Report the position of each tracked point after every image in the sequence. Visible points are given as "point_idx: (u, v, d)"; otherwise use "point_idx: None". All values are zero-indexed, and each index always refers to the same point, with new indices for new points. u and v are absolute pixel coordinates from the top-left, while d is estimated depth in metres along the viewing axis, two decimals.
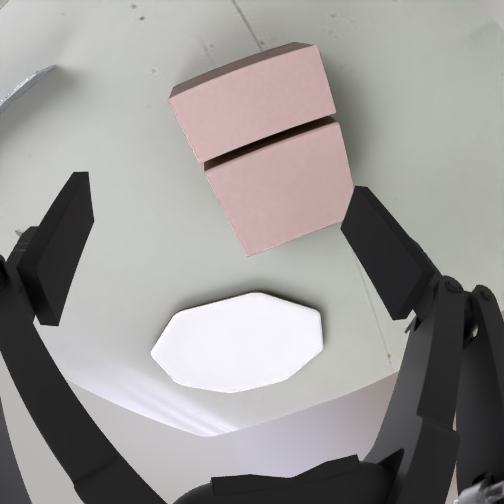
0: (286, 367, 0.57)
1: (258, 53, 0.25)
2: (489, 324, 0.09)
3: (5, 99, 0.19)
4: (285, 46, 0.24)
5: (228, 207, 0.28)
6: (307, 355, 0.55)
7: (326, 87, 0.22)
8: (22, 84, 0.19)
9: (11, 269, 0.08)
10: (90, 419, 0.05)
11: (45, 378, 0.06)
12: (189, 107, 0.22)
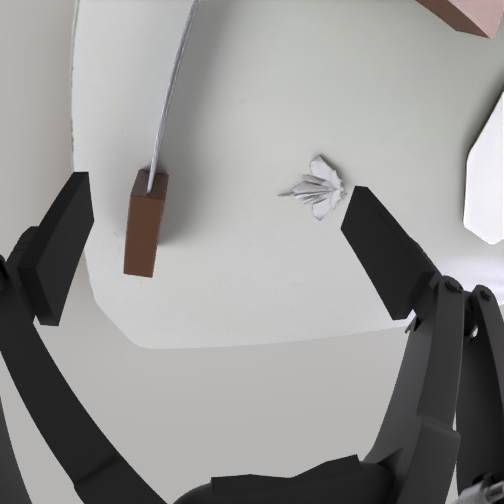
0: None
1: None
2: (489, 324, 0.09)
3: (181, 46, 0.19)
4: None
5: None
6: None
7: None
8: (190, 17, 0.17)
9: (11, 269, 0.08)
10: (90, 419, 0.05)
11: (45, 378, 0.06)
12: None
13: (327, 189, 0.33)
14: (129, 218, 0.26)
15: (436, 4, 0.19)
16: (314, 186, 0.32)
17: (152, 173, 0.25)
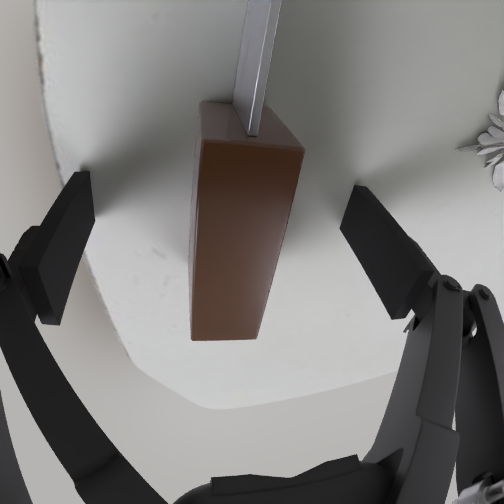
0: None
1: None
2: (488, 323, 0.09)
3: None
4: None
5: None
6: None
7: None
8: None
9: (13, 268, 0.08)
10: (91, 418, 0.05)
11: (47, 377, 0.06)
12: None
13: None
14: (201, 212, 0.10)
15: None
16: None
17: (265, 73, 0.08)
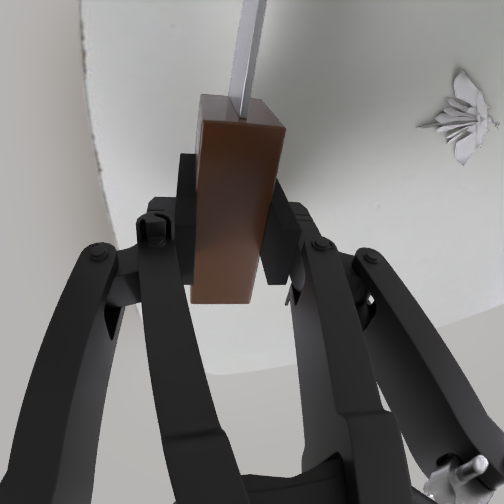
0: None
1: None
2: (388, 294, 0.10)
3: None
4: None
5: None
6: None
7: None
8: None
9: None
10: (207, 389, 0.06)
11: (179, 339, 0.07)
12: None
13: (474, 118, 0.18)
14: (200, 181, 0.12)
15: None
16: (460, 113, 0.18)
17: (252, 67, 0.10)
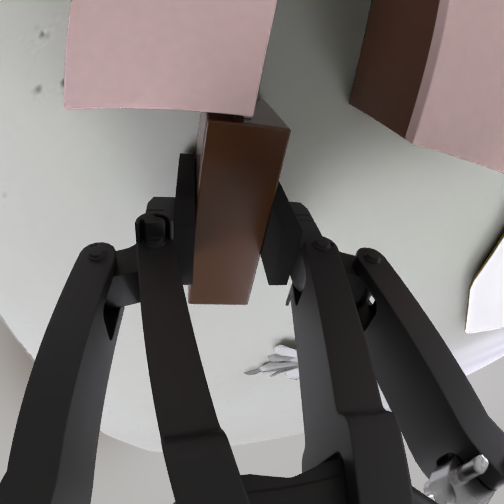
0: None
1: None
2: (389, 294, 0.10)
3: None
4: None
5: (474, 151, 0.11)
6: None
7: None
8: None
9: None
10: (207, 389, 0.06)
11: (178, 339, 0.07)
12: (102, 70, 0.07)
13: (297, 364, 0.29)
14: (203, 180, 0.11)
15: None
16: (281, 364, 0.29)
17: None
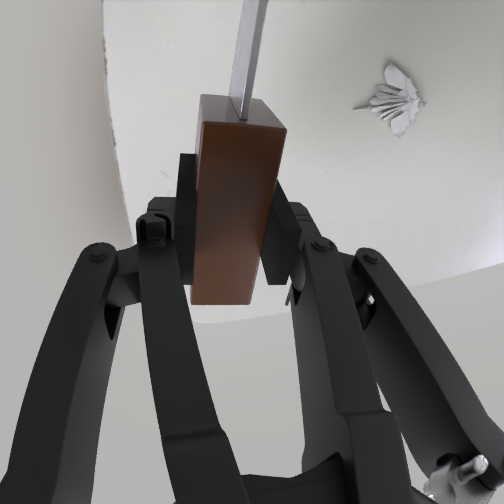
0: None
1: None
2: (388, 294, 0.10)
3: None
4: None
5: None
6: None
7: None
8: None
9: None
10: (207, 389, 0.06)
11: (178, 339, 0.07)
12: None
13: (405, 99, 0.25)
14: (201, 182, 0.12)
15: None
16: (391, 96, 0.25)
17: (253, 68, 0.10)
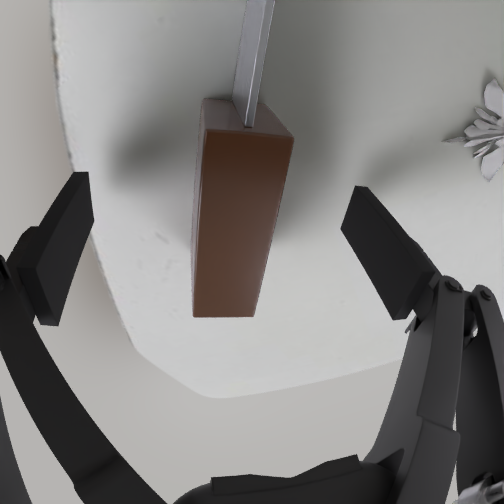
0: None
1: None
2: (489, 324, 0.09)
3: None
4: None
5: None
6: None
7: None
8: None
9: (11, 269, 0.08)
10: (90, 419, 0.05)
11: (45, 378, 0.06)
12: None
13: None
14: (203, 193, 0.11)
15: None
16: (490, 126, 0.15)
17: (259, 72, 0.09)
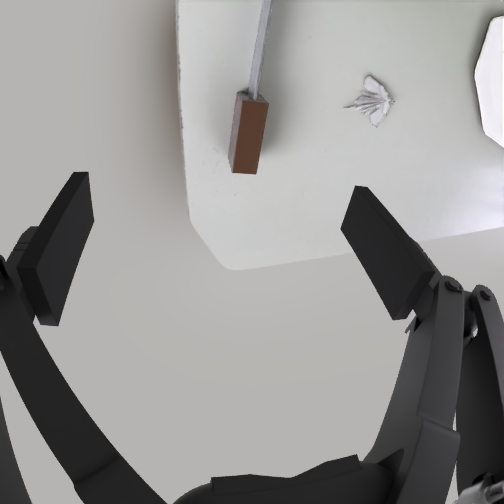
0: None
1: None
2: (489, 324, 0.09)
3: None
4: None
5: None
6: None
7: None
8: None
9: (11, 269, 0.08)
10: (90, 419, 0.05)
11: (45, 378, 0.06)
12: None
13: (379, 100, 0.38)
14: (240, 120, 0.34)
15: None
16: (369, 98, 0.38)
17: (257, 84, 0.32)
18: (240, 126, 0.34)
